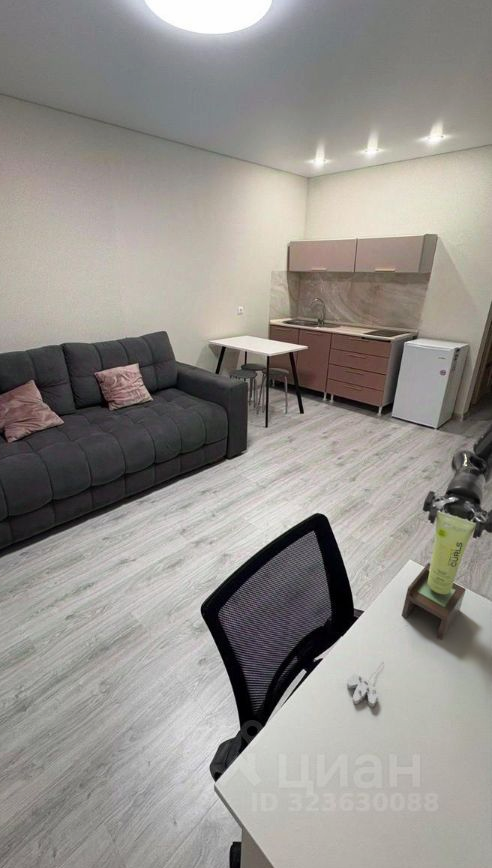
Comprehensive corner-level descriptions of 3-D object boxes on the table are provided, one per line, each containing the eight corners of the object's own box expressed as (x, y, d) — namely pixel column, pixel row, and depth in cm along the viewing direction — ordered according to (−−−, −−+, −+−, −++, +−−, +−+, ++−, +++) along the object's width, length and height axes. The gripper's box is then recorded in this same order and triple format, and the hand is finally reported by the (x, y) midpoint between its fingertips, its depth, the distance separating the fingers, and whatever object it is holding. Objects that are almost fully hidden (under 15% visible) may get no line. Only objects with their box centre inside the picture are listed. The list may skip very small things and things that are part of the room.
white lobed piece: (343, 698, 78) (344, 689, 77) (355, 651, 87) (357, 642, 86) (373, 713, 75) (375, 704, 74) (383, 663, 85) (385, 654, 84)
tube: (432, 596, 91) (450, 525, 84) (420, 579, 96) (437, 510, 89) (455, 594, 92) (476, 523, 85) (442, 578, 97) (461, 509, 89)
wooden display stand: (421, 589, 104) (428, 562, 101) (459, 610, 98) (468, 582, 95) (401, 615, 96) (407, 587, 93) (441, 639, 90) (449, 610, 87)
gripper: (435, 470, 101) (420, 500, 88) (503, 489, 93) (497, 525, 81) (429, 496, 103) (414, 528, 91) (495, 516, 96) (488, 555, 83)
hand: (453, 527), depth 86 cm, fingers closed on tube, 7 cm apart
